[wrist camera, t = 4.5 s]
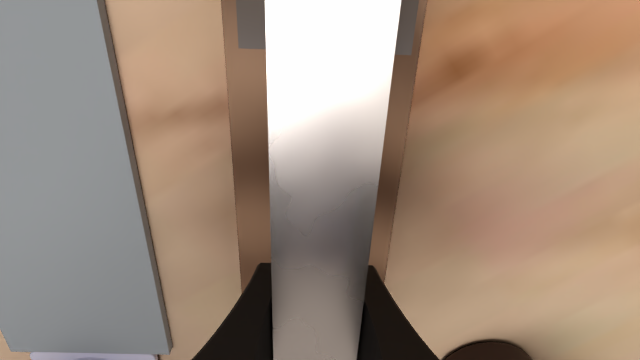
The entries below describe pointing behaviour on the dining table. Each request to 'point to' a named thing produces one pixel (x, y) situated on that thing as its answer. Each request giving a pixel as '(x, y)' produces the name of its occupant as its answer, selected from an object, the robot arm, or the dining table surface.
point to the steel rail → (324, 165)
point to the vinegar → (489, 352)
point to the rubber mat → (71, 190)
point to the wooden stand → (252, 128)
